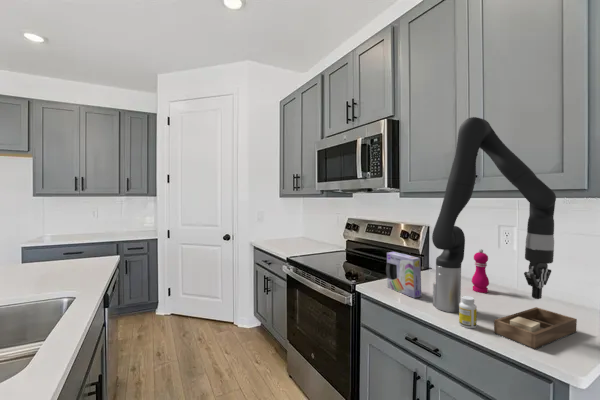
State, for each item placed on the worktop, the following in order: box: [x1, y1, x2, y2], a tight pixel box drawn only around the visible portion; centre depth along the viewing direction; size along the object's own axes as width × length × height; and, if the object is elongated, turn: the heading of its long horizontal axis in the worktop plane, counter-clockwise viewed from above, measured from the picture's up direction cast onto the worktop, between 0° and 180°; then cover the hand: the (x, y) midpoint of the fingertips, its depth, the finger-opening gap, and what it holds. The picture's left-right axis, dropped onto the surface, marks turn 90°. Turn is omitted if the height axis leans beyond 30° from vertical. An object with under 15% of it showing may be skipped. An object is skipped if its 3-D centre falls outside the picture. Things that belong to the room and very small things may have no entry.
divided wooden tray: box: [493, 306, 578, 350], centre depth 104 cm, size 12×26×4 cm, turn 118°
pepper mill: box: [471, 248, 490, 294], centre depth 148 cm, size 7×7×20 cm
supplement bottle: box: [458, 295, 478, 329], centre depth 109 cm, size 5×5×10 cm
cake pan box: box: [385, 251, 422, 299], centre depth 145 cm, size 19×5×18 cm, turn 23°
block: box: [510, 317, 540, 333], centre depth 99 cm, size 6×6×4 cm
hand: (536, 298), depth 104 cm, fingers closed
